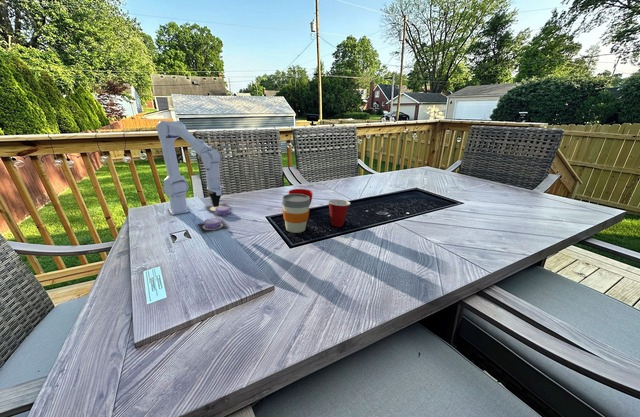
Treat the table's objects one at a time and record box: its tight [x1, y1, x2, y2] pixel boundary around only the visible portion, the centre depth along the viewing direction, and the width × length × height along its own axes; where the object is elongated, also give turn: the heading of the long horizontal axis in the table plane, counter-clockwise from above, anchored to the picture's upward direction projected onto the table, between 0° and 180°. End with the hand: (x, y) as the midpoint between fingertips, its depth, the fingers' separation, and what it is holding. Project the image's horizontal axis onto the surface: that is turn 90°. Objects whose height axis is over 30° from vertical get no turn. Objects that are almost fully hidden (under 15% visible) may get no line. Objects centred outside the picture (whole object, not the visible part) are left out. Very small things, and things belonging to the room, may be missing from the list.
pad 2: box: [197, 220, 228, 234], centre depth 118 cm, size 10×10×1 cm
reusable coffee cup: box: [281, 193, 311, 234], centre depth 118 cm, size 13×12×15 cm
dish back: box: [215, 205, 231, 216], centre depth 134 cm, size 7×7×3 cm
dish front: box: [203, 217, 222, 229], centre depth 118 cm, size 7×7×2 cm
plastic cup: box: [327, 198, 351, 228], centre depth 125 cm, size 11×11×12 cm
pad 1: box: [205, 203, 231, 214], centre depth 140 cm, size 10×10×1 cm
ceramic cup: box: [288, 188, 313, 207], centre depth 141 cm, size 13×17×10 cm
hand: (215, 206), depth 121 cm, fingers closed
